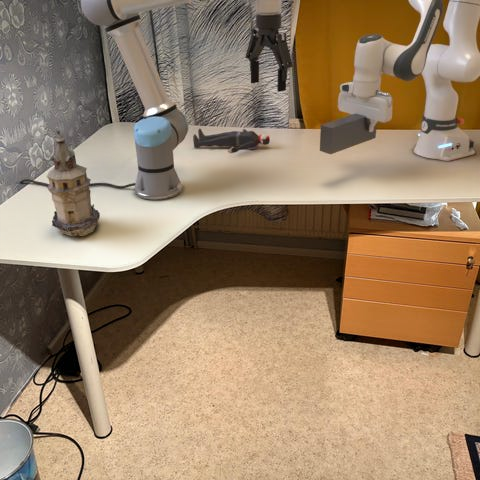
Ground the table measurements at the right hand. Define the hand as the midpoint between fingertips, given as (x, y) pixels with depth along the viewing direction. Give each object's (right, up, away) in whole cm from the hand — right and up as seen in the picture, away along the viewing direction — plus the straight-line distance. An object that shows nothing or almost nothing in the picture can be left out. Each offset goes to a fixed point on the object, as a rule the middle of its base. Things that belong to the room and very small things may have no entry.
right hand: (362, 129), depth 181 cm
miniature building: (-89, -34, -25) cm, 98 cm away
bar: (-5, -5, -2) cm, 8 cm away
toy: (-44, 0, +34) cm, 56 cm away
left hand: (-33, +10, -14) cm, 37 cm away
